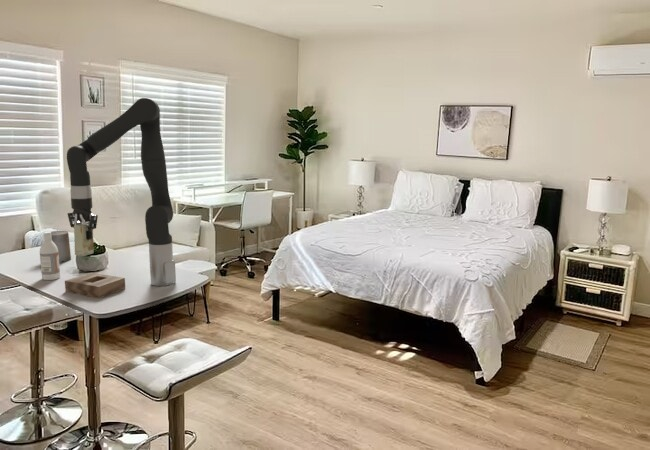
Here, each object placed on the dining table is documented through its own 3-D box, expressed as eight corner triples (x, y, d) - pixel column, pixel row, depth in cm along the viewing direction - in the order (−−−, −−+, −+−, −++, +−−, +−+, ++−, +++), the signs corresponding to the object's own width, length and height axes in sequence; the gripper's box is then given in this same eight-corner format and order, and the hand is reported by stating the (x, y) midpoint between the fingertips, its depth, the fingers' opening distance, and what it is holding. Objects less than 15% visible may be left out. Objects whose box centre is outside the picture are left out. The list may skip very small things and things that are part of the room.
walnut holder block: (125, 288, 205) (124, 277, 204) (99, 298, 193) (98, 286, 192) (92, 283, 212) (91, 272, 211) (65, 291, 200) (64, 280, 199)
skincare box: (84, 256, 202) (82, 226, 200) (74, 255, 203) (73, 225, 201) (94, 253, 208) (93, 223, 206) (85, 251, 209) (83, 222, 207)
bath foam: (59, 279, 216) (55, 233, 212) (40, 281, 213) (36, 234, 210) (61, 275, 222) (57, 230, 218) (43, 276, 220) (39, 231, 216)
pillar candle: (64, 256, 254) (61, 227, 251) (75, 259, 249) (72, 229, 246) (44, 260, 246) (41, 230, 244) (54, 263, 241) (51, 232, 238)
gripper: (102, 196, 202) (104, 238, 205) (75, 194, 207) (78, 235, 210) (87, 199, 195) (90, 242, 198) (60, 196, 201) (63, 238, 204)
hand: (84, 238), depth 204 cm, fingers closed on skincare box, 4 cm apart
